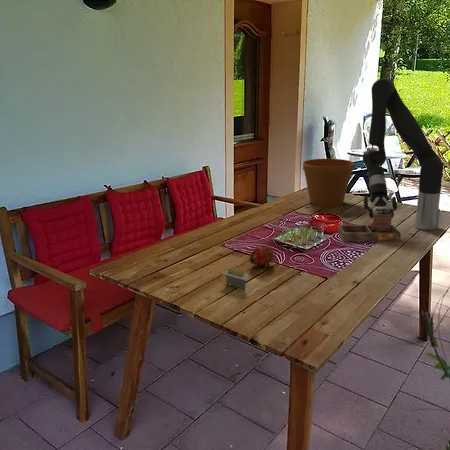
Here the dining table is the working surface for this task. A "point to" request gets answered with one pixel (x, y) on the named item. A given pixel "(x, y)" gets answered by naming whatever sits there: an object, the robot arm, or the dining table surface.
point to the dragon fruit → (262, 256)
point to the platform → (236, 277)
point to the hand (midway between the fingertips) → (381, 217)
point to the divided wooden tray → (367, 233)
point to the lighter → (382, 220)
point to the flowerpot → (327, 180)
